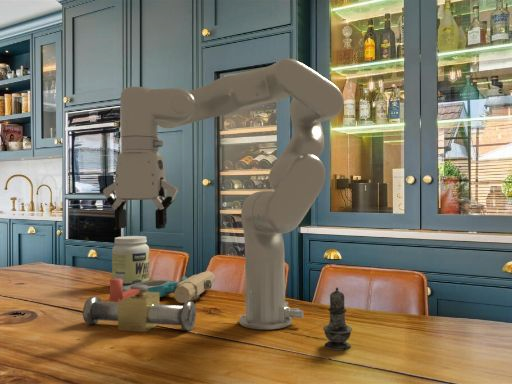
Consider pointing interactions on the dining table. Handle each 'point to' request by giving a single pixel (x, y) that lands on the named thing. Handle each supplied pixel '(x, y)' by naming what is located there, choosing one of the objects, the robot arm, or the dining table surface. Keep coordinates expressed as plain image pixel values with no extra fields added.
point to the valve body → (140, 312)
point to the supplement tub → (130, 260)
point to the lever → (118, 293)
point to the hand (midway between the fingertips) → (140, 228)
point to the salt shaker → (337, 324)
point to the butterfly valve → (181, 286)
